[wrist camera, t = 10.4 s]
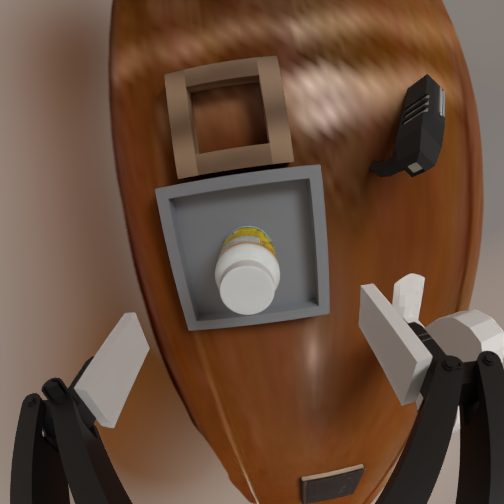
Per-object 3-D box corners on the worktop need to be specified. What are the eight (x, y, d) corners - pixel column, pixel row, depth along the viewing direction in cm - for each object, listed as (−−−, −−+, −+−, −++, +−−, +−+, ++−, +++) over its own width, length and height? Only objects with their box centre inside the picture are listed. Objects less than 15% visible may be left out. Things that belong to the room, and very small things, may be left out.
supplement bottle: (221, 225, 28) (206, 256, 19) (273, 224, 28) (284, 254, 19) (224, 274, 29) (213, 323, 20) (274, 273, 29) (283, 321, 20)
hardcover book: (363, 461, 47) (365, 468, 45) (351, 488, 54) (353, 493, 52) (300, 475, 48) (301, 482, 45) (301, 498, 55) (302, 504, 52)
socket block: (171, 81, 24) (164, 74, 21) (274, 64, 23) (276, 55, 21) (184, 177, 27) (177, 179, 25) (290, 162, 26) (294, 161, 24)
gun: (401, 112, 29) (450, 79, 20) (375, 200, 26) (448, 171, 16) (386, 98, 29) (433, 61, 19) (355, 184, 25) (427, 146, 16)
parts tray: (162, 186, 27) (154, 189, 25) (314, 164, 27) (320, 164, 24) (192, 319, 32) (188, 330, 30) (324, 303, 31) (329, 313, 29)
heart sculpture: (409, 355, 35) (463, 437, 18) (382, 363, 35) (430, 454, 18) (426, 264, 30) (519, 335, 13) (395, 269, 30) (488, 354, 13)
